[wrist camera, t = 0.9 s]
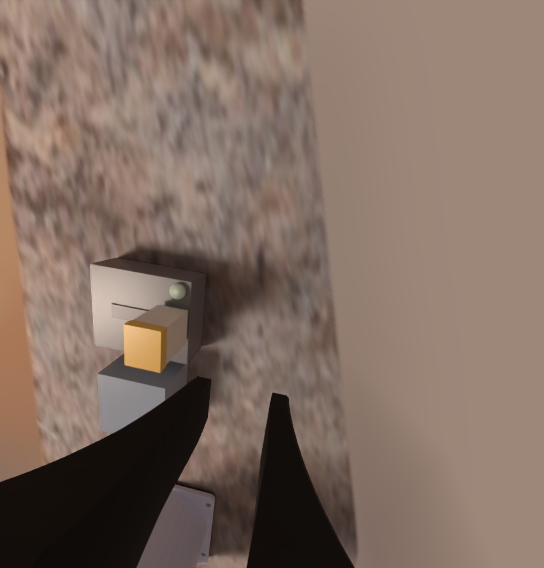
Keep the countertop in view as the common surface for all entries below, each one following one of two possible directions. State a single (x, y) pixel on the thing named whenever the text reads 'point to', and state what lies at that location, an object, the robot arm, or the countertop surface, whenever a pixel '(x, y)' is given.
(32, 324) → the countertop surface
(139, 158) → the countertop surface
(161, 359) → the handle
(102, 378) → the cap
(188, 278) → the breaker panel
